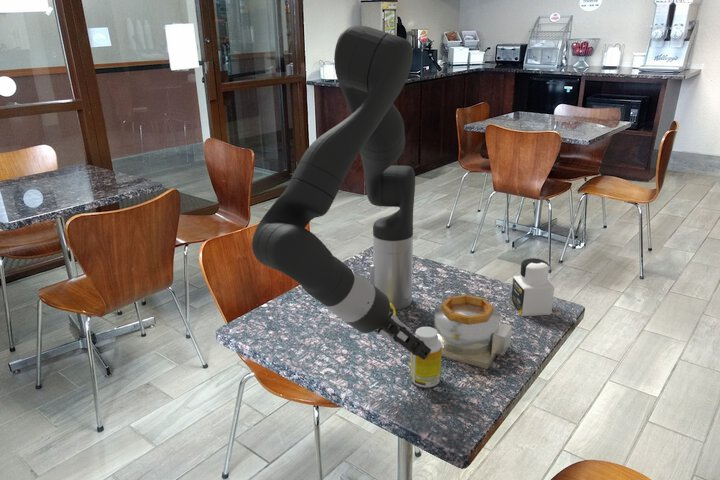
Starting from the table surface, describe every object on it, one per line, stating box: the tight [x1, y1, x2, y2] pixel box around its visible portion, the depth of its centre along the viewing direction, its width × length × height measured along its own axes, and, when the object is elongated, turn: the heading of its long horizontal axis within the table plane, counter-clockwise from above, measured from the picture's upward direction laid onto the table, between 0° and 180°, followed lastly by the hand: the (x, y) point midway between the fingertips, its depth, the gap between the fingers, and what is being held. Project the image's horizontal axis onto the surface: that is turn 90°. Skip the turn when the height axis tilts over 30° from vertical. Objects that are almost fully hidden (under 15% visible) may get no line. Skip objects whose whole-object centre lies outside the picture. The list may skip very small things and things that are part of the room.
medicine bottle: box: [510, 257, 555, 317], centre depth 126 cm, size 7×7×12 cm
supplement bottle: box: [409, 326, 442, 389], centre depth 101 cm, size 6×6×10 cm
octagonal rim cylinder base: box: [433, 294, 513, 370], centre depth 113 cm, size 16×14×9 cm
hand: (412, 343), depth 98 cm, fingers open, 8 cm apart
